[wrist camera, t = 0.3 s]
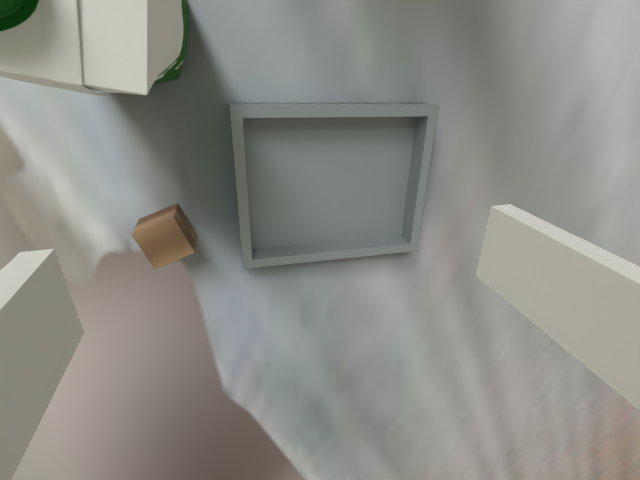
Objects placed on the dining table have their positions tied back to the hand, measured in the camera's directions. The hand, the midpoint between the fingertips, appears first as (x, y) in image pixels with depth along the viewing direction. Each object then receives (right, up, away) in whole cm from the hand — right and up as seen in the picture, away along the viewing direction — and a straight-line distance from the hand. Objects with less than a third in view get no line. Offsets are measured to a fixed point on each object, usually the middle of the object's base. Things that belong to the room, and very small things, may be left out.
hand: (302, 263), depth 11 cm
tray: (+2, +7, +28) cm, 29 cm away
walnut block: (-15, +2, +26) cm, 30 cm away
